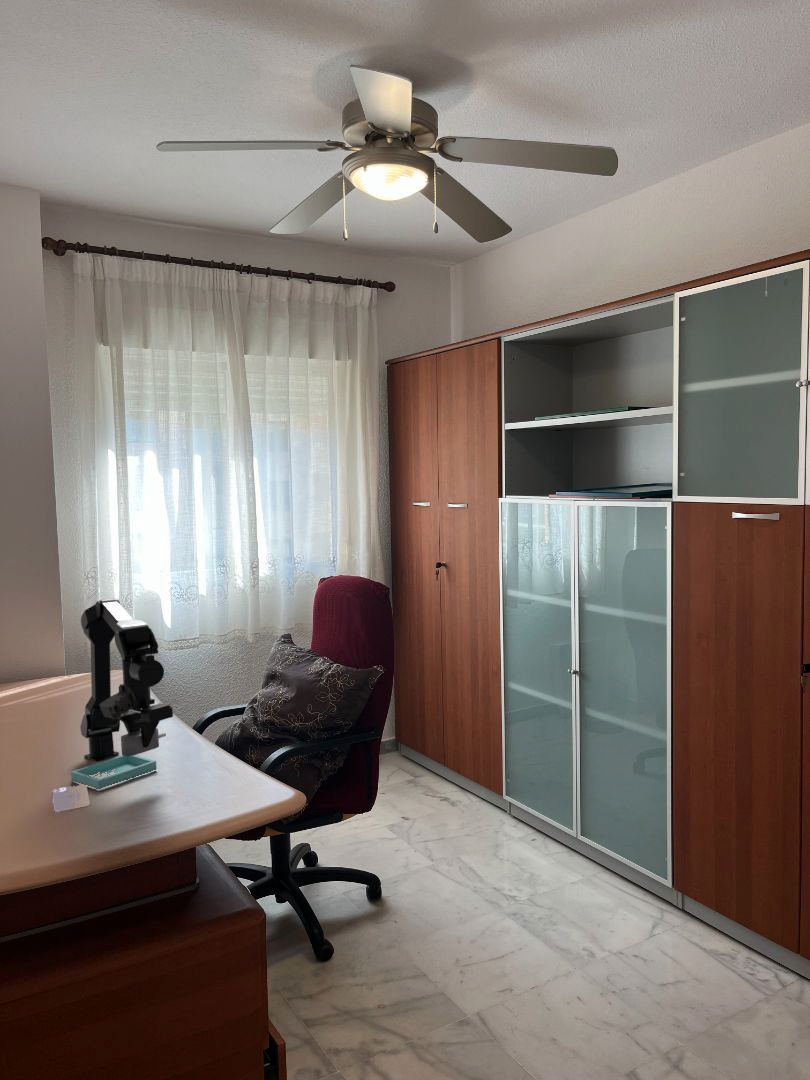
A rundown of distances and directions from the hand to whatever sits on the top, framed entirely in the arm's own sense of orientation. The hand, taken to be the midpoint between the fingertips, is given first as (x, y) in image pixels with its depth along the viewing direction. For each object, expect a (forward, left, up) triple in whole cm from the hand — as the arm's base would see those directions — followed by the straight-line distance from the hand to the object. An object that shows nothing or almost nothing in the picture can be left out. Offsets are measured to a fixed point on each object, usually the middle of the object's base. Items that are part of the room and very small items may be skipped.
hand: (140, 745), depth 182 cm
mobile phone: (-9, -12, -11) cm, 19 cm away
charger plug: (0, 0, -1) cm, 1 cm away
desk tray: (-13, +1, -10) cm, 17 cm away
